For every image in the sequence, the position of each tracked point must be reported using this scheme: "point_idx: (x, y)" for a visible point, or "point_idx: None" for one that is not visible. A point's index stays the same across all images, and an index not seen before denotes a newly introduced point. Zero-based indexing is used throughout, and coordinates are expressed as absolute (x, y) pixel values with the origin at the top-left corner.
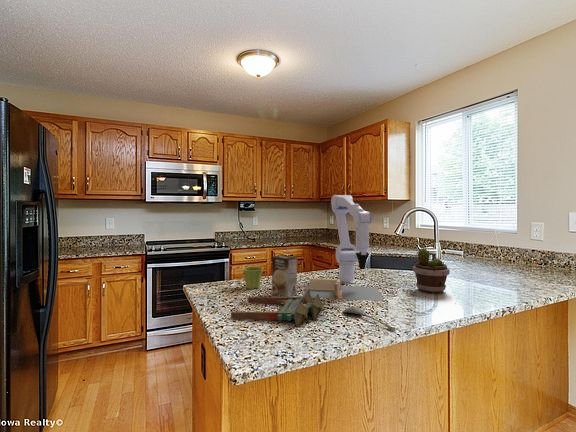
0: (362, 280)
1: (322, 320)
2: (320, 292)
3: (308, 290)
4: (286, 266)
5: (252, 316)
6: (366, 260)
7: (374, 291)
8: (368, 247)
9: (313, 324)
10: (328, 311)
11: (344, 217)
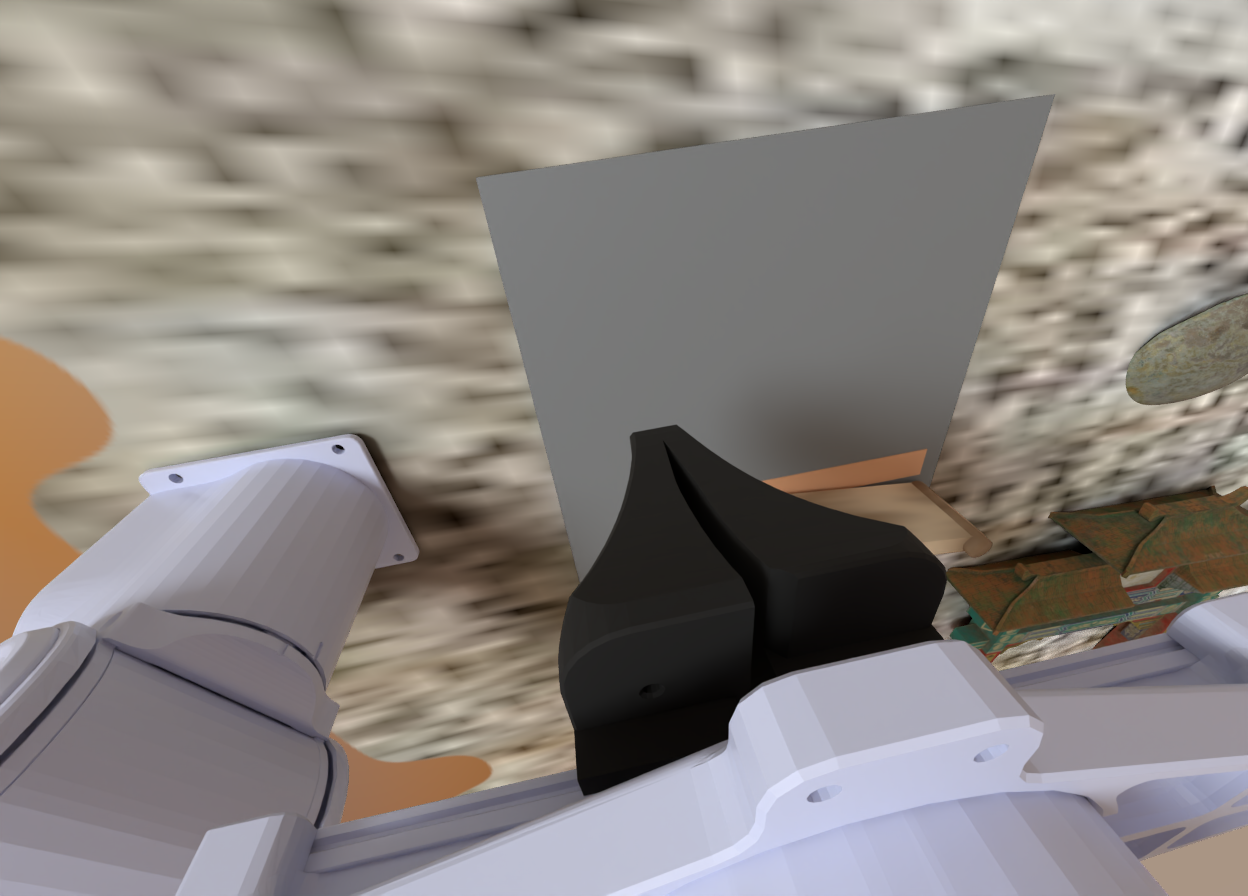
0: (123, 374)
1: (1218, 464)
2: None
3: (999, 628)
4: None
5: None
6: (773, 488)
7: (702, 208)
8: (1091, 889)
9: (1245, 483)
10: (1109, 468)
11: None
